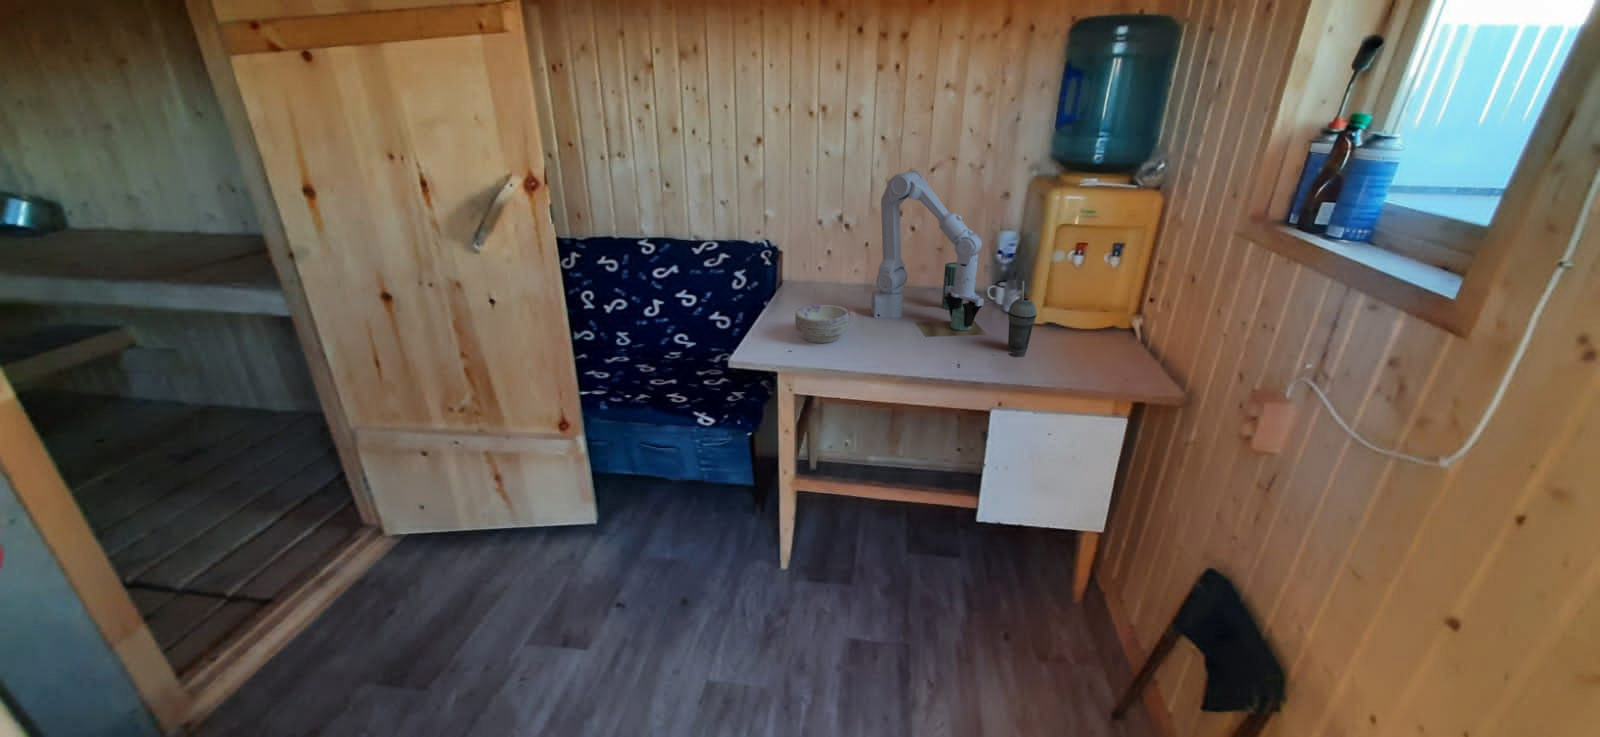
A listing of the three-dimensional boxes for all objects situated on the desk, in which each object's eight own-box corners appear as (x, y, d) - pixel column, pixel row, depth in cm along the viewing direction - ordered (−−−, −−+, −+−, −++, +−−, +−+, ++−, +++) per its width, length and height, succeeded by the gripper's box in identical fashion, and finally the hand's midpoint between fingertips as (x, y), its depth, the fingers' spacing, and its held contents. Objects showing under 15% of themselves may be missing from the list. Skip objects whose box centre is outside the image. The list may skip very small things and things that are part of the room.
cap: (957, 322, 195) (958, 306, 193) (973, 326, 192) (975, 310, 190) (947, 327, 192) (949, 311, 190) (964, 331, 188) (965, 315, 186)
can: (962, 313, 207) (967, 267, 201) (943, 313, 207) (947, 267, 201) (958, 307, 213) (963, 262, 207) (940, 307, 213) (944, 262, 207)
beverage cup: (1016, 361, 172) (1026, 287, 164) (996, 351, 178) (1005, 280, 170) (1036, 356, 175) (1047, 283, 167) (1016, 347, 181) (1026, 276, 173)
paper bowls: (811, 325, 198) (811, 300, 195) (857, 334, 191) (857, 308, 188) (785, 341, 186) (785, 315, 183) (833, 351, 179) (833, 324, 176)
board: (925, 340, 186) (925, 336, 186) (915, 326, 197) (915, 322, 197) (987, 338, 187) (987, 334, 187) (973, 324, 198) (973, 320, 198)
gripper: (938, 273, 190) (934, 317, 196) (971, 286, 178) (966, 332, 184) (957, 270, 193) (953, 313, 198) (991, 282, 181) (986, 328, 187)
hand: (961, 322), depth 191 cm, fingers closed on cap, 5 cm apart
